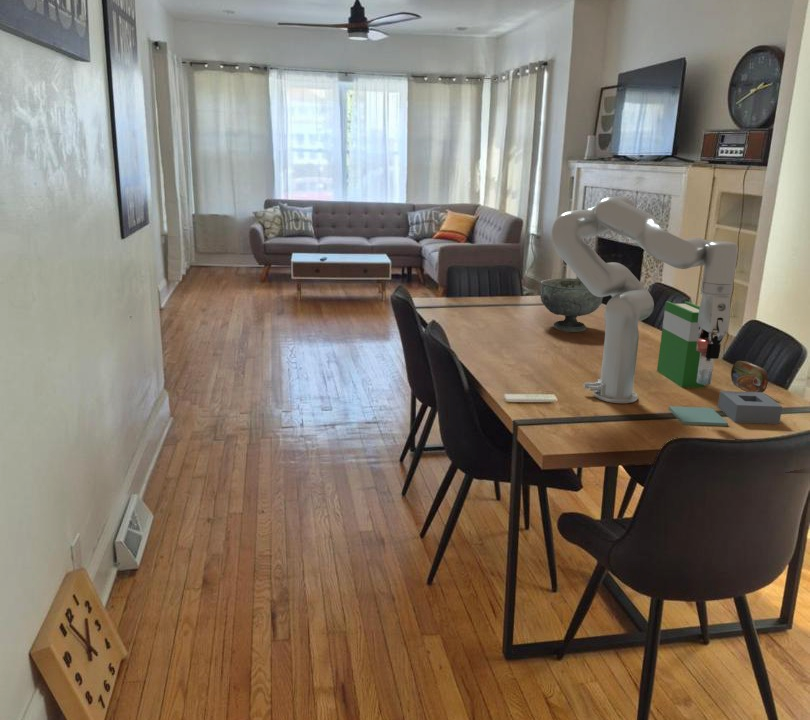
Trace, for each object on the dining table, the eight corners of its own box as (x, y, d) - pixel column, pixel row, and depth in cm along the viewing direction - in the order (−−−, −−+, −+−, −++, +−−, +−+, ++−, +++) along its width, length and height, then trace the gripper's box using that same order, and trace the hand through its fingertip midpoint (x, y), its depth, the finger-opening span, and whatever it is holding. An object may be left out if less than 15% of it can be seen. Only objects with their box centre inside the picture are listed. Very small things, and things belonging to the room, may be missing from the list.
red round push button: (718, 386, 189) (725, 343, 186) (696, 385, 189) (702, 342, 186) (710, 379, 195) (716, 337, 192) (688, 379, 195) (694, 337, 192)
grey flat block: (734, 422, 192) (737, 405, 191) (717, 407, 203) (720, 390, 202) (779, 423, 192) (782, 406, 190) (759, 408, 203) (762, 392, 202)
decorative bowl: (608, 336, 281) (612, 286, 276) (544, 335, 281) (547, 286, 277) (593, 323, 307) (596, 277, 302) (534, 323, 307) (536, 277, 302)
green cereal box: (656, 371, 238) (665, 301, 231) (677, 370, 238) (687, 301, 232) (681, 387, 221) (692, 312, 214) (704, 387, 221) (715, 312, 215)
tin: (728, 382, 227) (732, 357, 225) (737, 382, 228) (741, 357, 225) (757, 397, 213) (762, 371, 210) (767, 397, 213) (771, 371, 211)
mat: (682, 424, 190) (683, 421, 189) (668, 408, 201) (669, 406, 201) (727, 425, 189) (728, 423, 189) (711, 410, 201) (711, 407, 200)
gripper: (744, 295, 177) (734, 364, 182) (718, 283, 193) (709, 347, 198) (714, 294, 177) (704, 363, 182) (690, 283, 193) (682, 346, 198)
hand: (707, 354), depth 190 cm, fingers closed on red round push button, 6 cm apart
